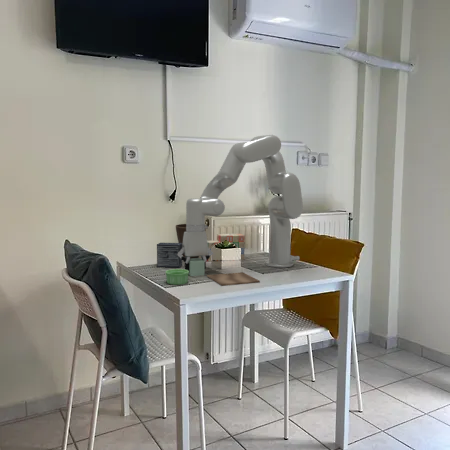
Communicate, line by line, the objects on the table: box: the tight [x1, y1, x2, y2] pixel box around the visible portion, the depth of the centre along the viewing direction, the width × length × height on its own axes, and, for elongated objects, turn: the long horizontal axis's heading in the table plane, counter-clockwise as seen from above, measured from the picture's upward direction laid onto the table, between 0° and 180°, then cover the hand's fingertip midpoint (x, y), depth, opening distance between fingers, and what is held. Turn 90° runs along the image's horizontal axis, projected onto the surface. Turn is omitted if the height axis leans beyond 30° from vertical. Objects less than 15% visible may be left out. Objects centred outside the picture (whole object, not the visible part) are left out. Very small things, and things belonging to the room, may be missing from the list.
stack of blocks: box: [198, 233, 246, 263], centre depth 219 cm, size 21×6×12 cm, turn 107°
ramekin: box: [165, 268, 189, 286], centre depth 175 cm, size 9×9×4 cm
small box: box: [156, 242, 183, 269], centre depth 203 cm, size 11×6×10 cm, turn 84°
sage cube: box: [188, 257, 206, 277], centre depth 189 cm, size 6×6×6 cm
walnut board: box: [206, 271, 261, 287], centre depth 180 cm, size 16×16×1 cm
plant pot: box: [175, 223, 207, 259], centre depth 223 cm, size 15×15×16 cm
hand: (195, 271), depth 189 cm, fingers closed on sage cube, 6 cm apart
